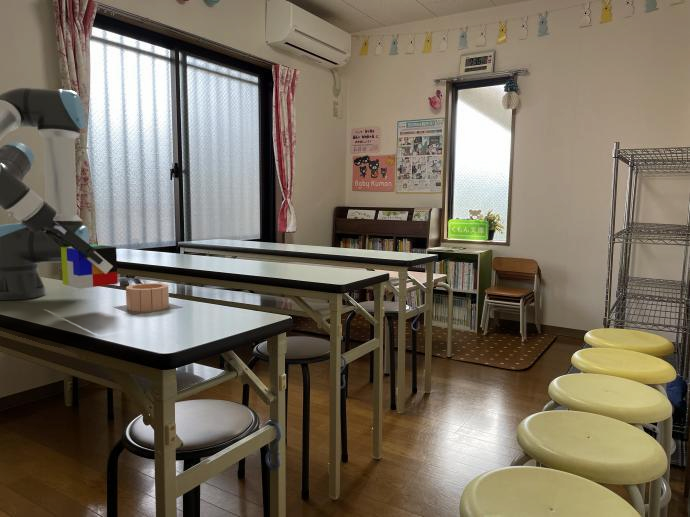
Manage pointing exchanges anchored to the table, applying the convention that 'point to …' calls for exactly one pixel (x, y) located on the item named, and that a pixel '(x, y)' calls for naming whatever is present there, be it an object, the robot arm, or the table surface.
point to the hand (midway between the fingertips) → (100, 267)
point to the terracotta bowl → (147, 297)
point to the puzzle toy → (88, 268)
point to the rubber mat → (124, 308)
